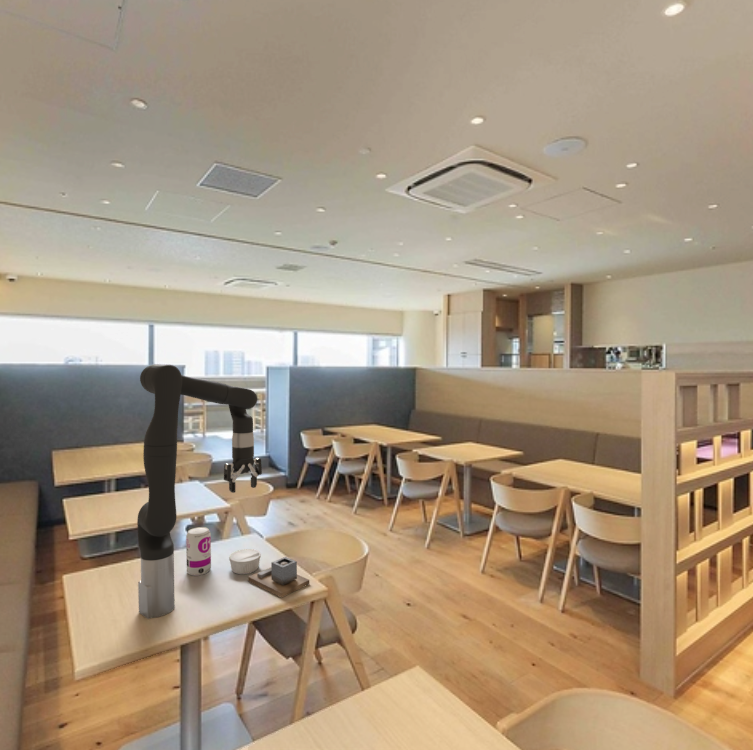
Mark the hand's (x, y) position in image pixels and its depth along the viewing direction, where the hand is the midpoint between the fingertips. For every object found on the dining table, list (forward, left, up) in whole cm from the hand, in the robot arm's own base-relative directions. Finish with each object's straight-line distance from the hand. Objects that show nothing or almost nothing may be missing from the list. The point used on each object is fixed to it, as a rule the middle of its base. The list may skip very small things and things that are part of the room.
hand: (243, 489), depth 171 cm
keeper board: (+3, -16, -30) cm, 34 cm away
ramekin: (+2, +2, -30) cm, 30 cm away
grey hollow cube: (+3, -19, -28) cm, 34 cm away
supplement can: (-10, +13, -30) cm, 35 cm away
